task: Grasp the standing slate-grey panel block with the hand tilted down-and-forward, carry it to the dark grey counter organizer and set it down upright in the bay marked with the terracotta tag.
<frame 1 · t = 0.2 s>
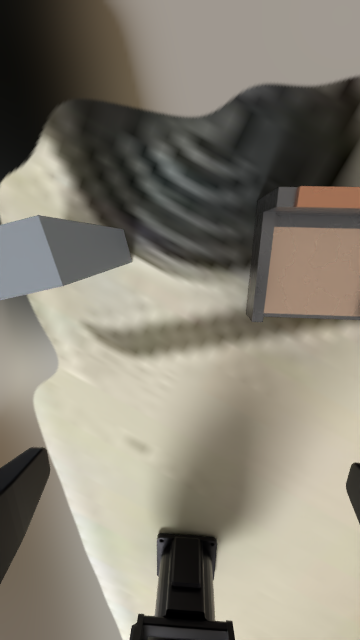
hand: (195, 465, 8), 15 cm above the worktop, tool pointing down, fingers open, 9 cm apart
panel: (97, 253, 21), on the worktop
rack: (318, 259, 20), on the worktop
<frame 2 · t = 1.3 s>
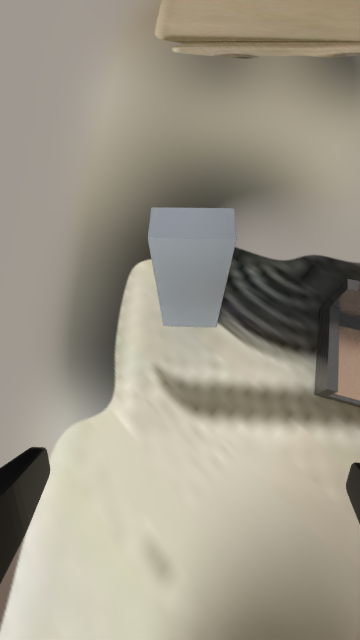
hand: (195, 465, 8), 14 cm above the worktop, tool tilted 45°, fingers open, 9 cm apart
panel: (190, 315, 26), on the worktop
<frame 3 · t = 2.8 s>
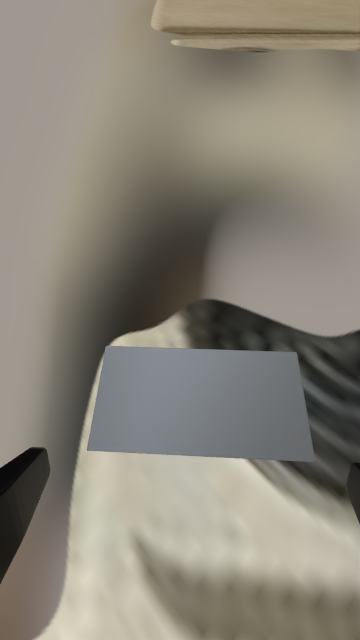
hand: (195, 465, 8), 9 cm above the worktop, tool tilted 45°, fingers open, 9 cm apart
panel: (191, 433, 17), on the worktop
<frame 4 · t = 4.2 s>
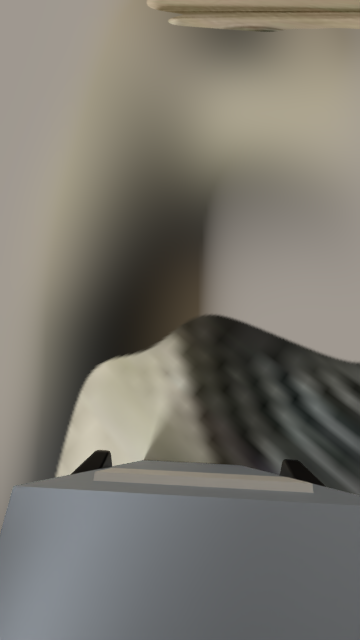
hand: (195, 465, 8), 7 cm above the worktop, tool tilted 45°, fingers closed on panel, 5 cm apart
panel: (190, 491, 13), on the worktop, touching gripper
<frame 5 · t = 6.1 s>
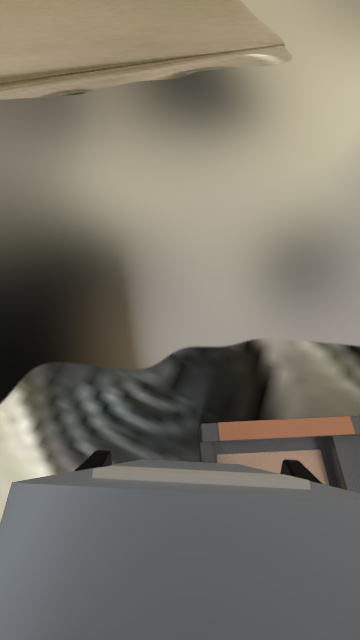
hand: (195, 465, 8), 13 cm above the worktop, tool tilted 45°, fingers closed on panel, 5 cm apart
panel: (190, 490, 13), point 7 cm above the worktop, touching gripper
rack: (271, 486, 19), on the worktop
when the fingers open (8 cm above the worktop, at t = 8.3 s): panel stays where it is, resting on rack.
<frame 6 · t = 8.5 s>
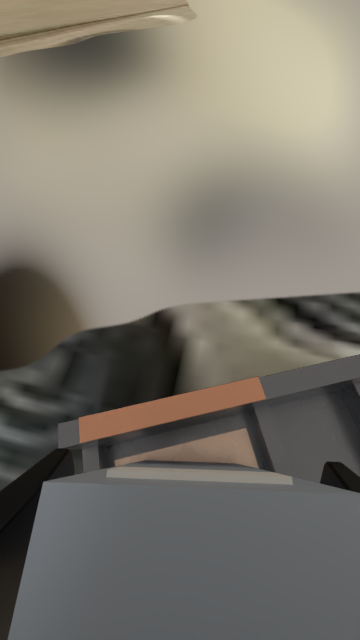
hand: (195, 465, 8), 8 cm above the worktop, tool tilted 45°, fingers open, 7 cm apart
panel: (190, 488, 14), point 1 cm above the worktop, touching rack
rack: (190, 487, 14), on the worktop
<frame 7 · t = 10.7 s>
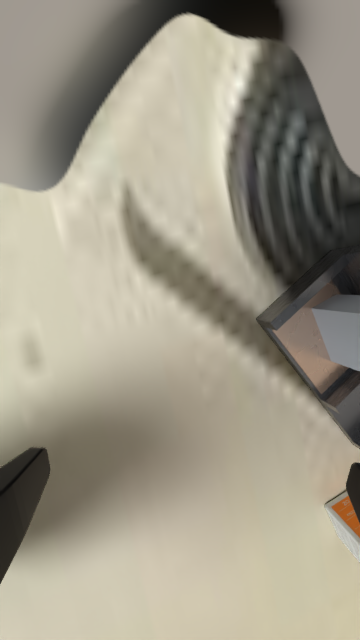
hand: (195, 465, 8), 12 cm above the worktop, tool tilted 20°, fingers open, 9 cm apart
panel: (333, 328, 22), point 1 cm above the worktop, touching rack
skincare box: (351, 501, 26), on the worktop
rack: (327, 327, 22), on the worktop
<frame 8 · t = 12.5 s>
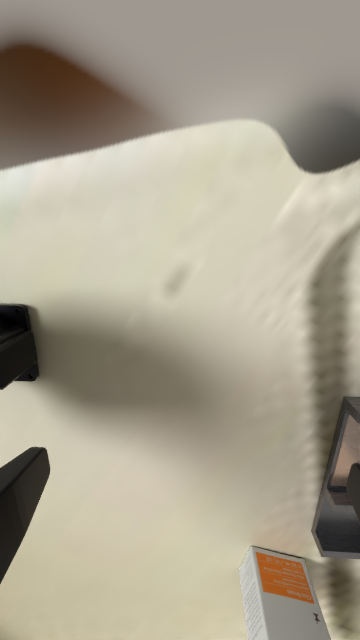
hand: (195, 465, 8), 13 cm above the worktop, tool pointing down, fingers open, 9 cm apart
skincare box: (269, 560, 28), on the worktop
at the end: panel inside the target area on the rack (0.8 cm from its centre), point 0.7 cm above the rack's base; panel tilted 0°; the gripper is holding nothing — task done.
